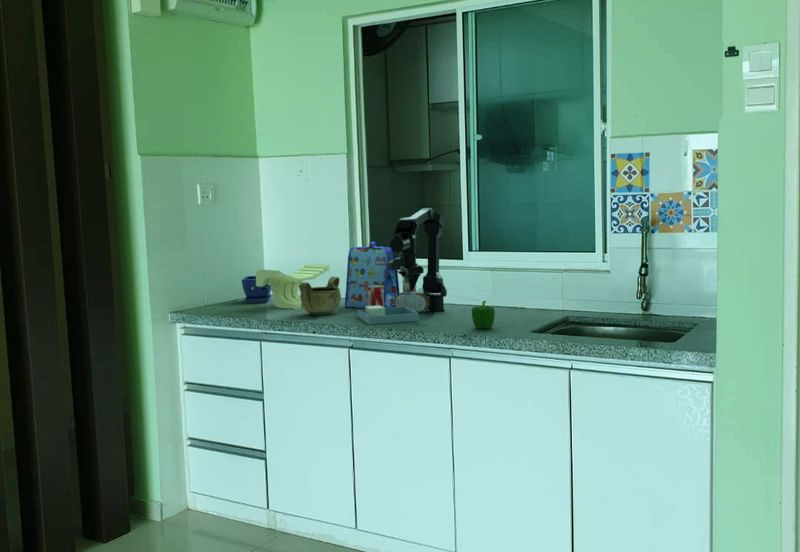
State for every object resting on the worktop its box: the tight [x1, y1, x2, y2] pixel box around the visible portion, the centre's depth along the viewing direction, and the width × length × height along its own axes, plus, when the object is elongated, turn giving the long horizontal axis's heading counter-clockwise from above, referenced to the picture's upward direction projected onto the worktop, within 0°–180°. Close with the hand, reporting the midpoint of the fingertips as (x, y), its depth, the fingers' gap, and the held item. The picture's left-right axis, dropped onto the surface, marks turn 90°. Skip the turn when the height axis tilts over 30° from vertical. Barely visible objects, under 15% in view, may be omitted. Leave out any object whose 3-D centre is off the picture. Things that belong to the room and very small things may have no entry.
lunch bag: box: [344, 241, 401, 309], centre depth 364 cm, size 22×14×29 cm, turn 58°
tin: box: [395, 291, 430, 313], centre depth 347 cm, size 15×3×8 cm, turn 69°
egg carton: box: [364, 305, 385, 316], centre depth 326 cm, size 6×8×5 cm
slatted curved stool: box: [255, 263, 330, 310], centre depth 375 cm, size 30×16×18 cm, turn 139°
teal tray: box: [356, 306, 420, 325], centre depth 327 cm, size 20×20×4 cm
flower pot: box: [241, 275, 272, 304], centre depth 393 cm, size 13×13×12 cm
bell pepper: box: [471, 300, 496, 330], centre depth 302 cm, size 8×8×10 cm
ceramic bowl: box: [298, 276, 342, 317], centre depth 346 cm, size 22×17×15 cm
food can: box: [402, 276, 417, 295], centre depth 326 cm, size 5×5×7 cm
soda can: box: [367, 285, 384, 307], centre depth 342 cm, size 7×7×12 cm
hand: (409, 289), depth 326 cm, fingers closed on food can, 5 cm apart
